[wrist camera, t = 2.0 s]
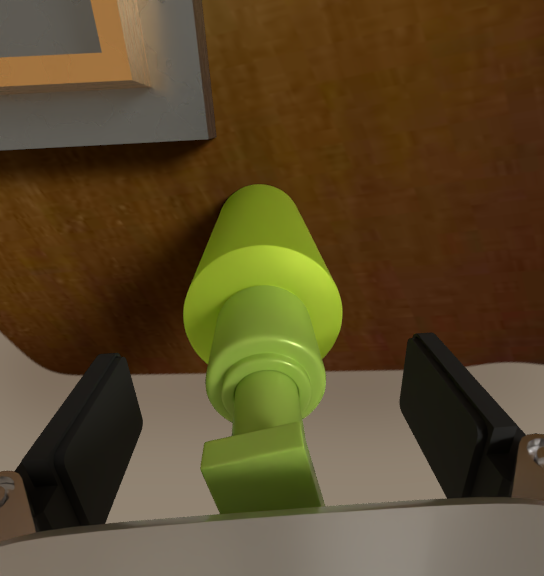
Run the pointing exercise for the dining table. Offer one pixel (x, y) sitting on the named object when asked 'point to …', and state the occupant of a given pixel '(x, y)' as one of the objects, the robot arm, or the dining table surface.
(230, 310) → the green pump bottle
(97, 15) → the bottle holder tray
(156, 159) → the dining table surface
